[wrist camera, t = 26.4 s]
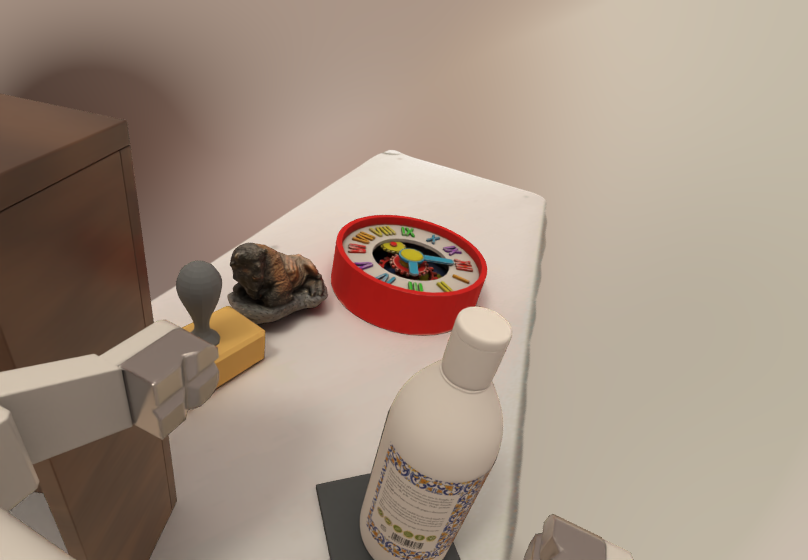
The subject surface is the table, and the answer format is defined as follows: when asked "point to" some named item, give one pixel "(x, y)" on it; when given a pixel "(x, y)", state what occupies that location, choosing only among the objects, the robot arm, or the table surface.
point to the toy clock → (406, 273)
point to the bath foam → (437, 445)
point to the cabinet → (80, 310)
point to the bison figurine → (273, 283)
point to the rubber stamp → (219, 321)
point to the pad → (349, 518)
